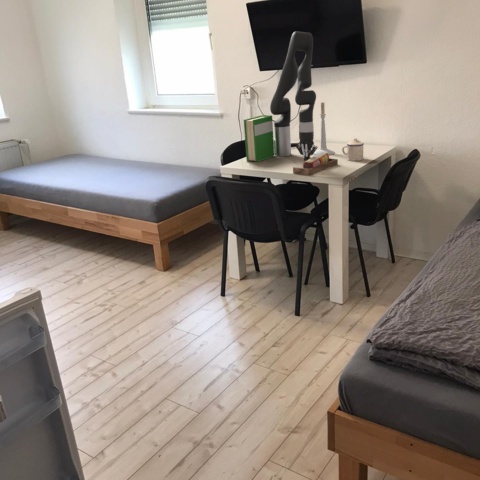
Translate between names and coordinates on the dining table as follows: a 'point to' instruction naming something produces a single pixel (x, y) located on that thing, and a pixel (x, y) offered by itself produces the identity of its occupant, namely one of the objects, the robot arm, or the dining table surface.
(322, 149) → the candlestick
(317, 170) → the walnut pocket
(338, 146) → the dining table surface
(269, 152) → the hardback book
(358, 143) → the teacup with lid
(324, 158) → the snack package
